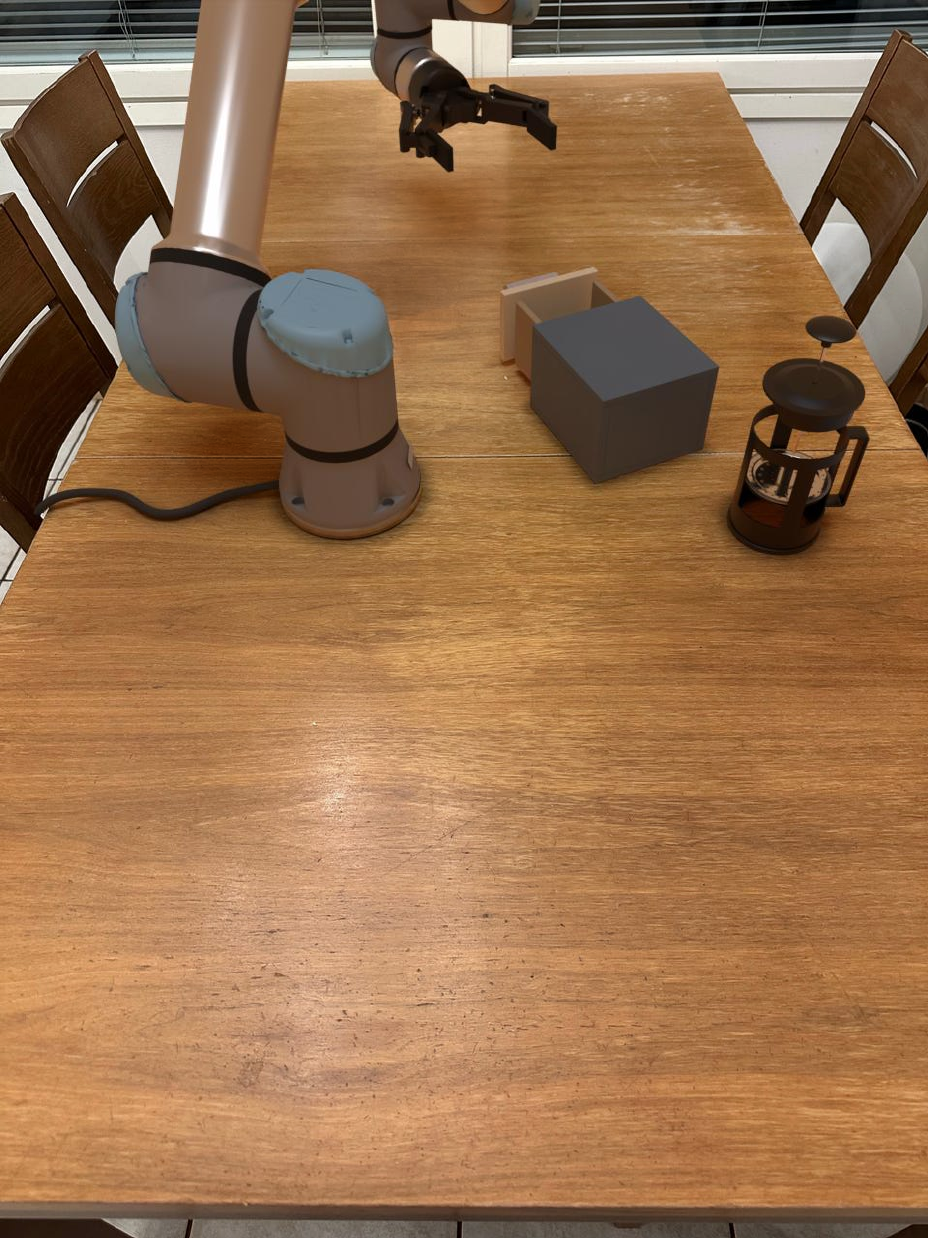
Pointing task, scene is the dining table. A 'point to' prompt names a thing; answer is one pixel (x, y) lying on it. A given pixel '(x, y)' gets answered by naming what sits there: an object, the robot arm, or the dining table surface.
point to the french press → (788, 477)
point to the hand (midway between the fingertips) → (503, 149)
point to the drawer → (544, 308)
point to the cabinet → (621, 387)
